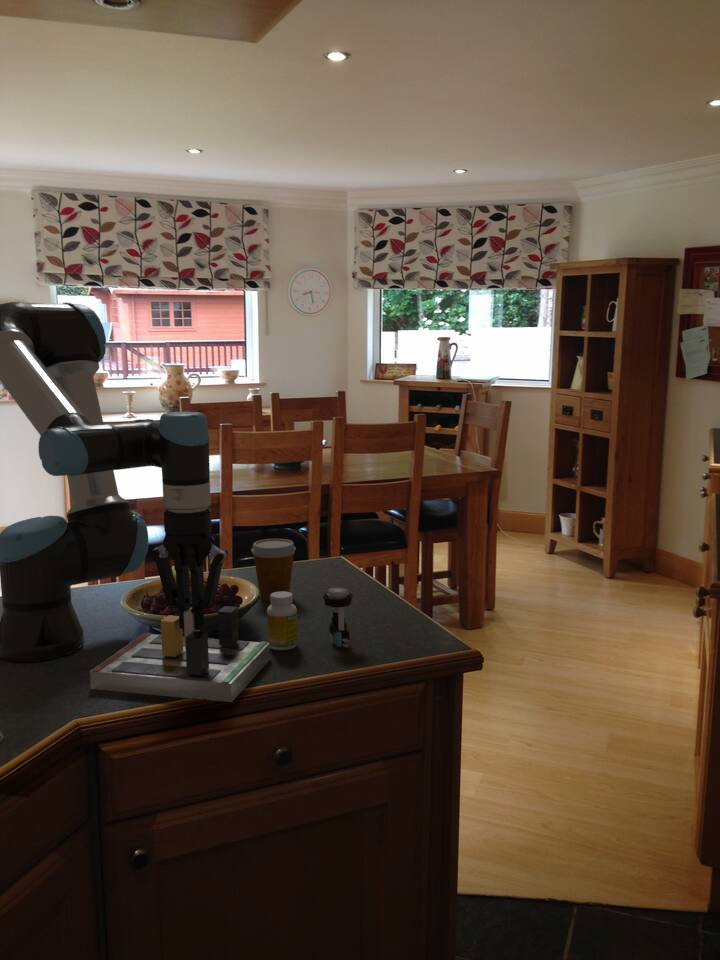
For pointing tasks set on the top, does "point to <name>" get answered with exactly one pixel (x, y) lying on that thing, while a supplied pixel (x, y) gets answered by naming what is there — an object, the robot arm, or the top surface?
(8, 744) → the top surface
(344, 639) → the push button
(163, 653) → the block
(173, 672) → the panel
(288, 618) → the supplement bottle
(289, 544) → the disposable coffee cup
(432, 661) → the top surface
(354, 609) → the top surface
